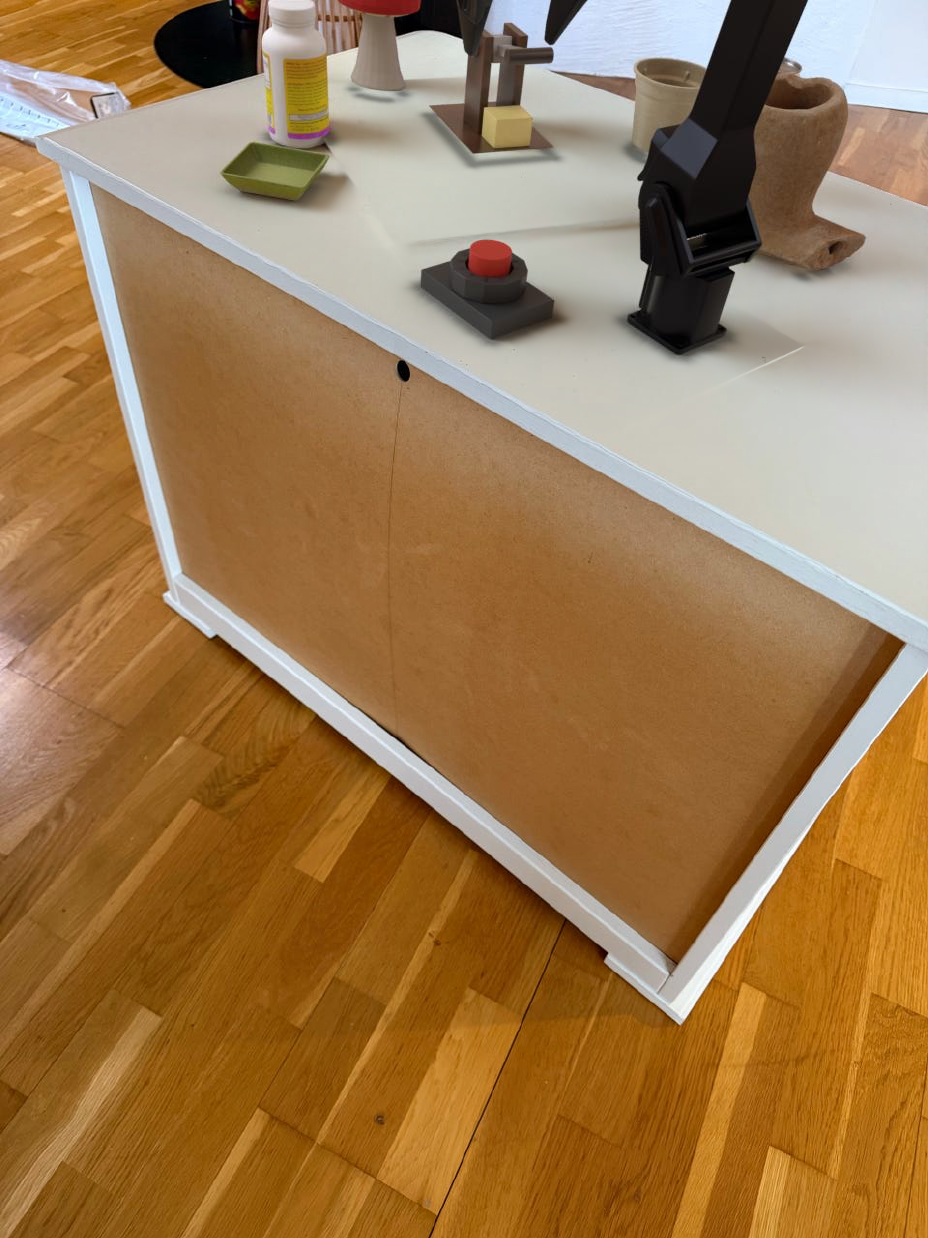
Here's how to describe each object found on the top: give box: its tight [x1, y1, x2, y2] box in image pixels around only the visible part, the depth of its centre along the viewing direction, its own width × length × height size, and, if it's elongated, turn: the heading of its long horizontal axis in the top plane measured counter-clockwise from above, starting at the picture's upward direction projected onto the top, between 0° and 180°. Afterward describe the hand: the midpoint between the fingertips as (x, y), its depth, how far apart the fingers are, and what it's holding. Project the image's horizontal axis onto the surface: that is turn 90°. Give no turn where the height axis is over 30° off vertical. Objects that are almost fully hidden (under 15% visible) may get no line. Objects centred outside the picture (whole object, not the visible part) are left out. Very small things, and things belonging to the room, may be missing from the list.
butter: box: [482, 104, 534, 149], centre depth 99 cm, size 4×4×3 cm
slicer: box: [428, 22, 555, 155], centre depth 100 cm, size 14×10×11 cm
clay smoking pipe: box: [748, 73, 867, 271], centre depth 85 cm, size 15×12×15 cm
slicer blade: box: [491, 33, 555, 66], centre depth 94 cm, size 10×5×2 cm, turn 22°
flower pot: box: [631, 56, 707, 153], centre depth 101 cm, size 9×9×9 cm
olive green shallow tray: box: [219, 141, 331, 201], centre depth 90 cm, size 9×9×2 cm
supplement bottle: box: [261, 0, 330, 149], centre depth 94 cm, size 7×7×13 cm
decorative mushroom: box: [337, 0, 422, 92], centre depth 104 cm, size 10×9×15 cm
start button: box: [468, 239, 513, 278], centre depth 76 cm, size 4×4×2 cm
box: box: [420, 247, 556, 340], centre depth 77 cm, size 10×7×4 cm
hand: (509, 48), depth 82 cm, fingers open, 9 cm apart
